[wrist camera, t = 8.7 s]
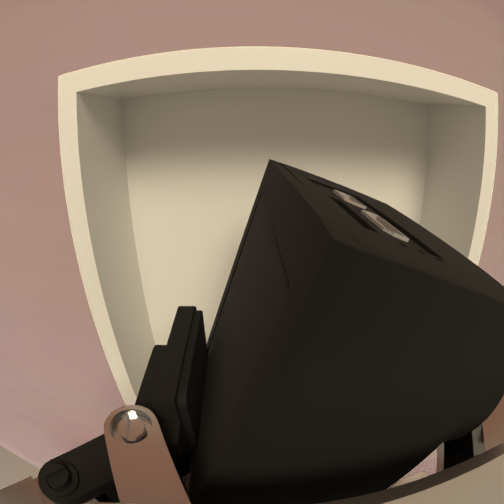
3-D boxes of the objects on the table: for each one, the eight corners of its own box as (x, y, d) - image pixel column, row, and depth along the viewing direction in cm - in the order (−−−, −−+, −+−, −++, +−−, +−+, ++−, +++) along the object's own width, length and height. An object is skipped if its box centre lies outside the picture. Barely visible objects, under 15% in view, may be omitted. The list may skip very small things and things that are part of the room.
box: (431, 95, 13) (497, 92, 8) (387, 368, 20) (413, 423, 15) (115, 88, 13) (58, 75, 8) (158, 378, 20) (142, 440, 15)
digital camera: (301, 414, 13) (323, 543, 7) (190, 394, 13) (171, 538, 6) (414, 215, 10) (563, 328, 3) (269, 157, 9) (340, 243, 2)
